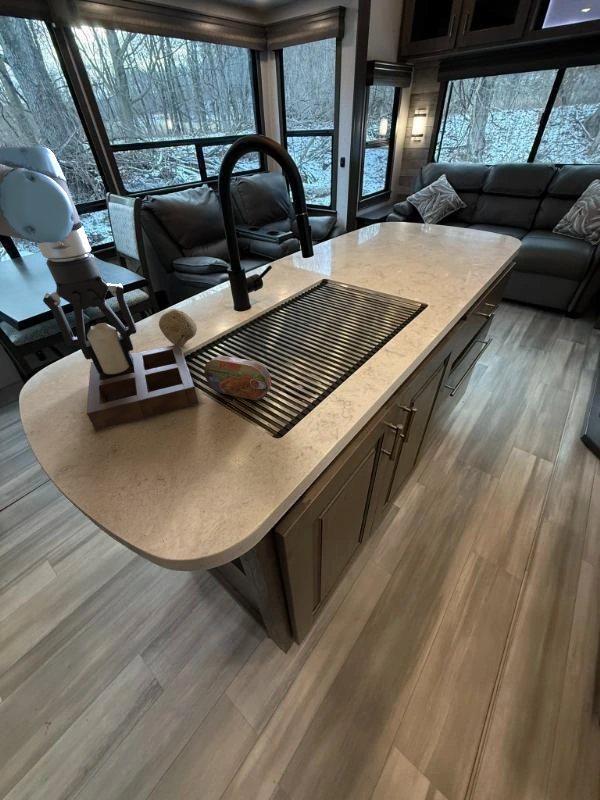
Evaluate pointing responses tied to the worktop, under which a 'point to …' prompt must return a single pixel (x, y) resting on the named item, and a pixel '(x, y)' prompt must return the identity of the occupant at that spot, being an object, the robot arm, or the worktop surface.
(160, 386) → the rack
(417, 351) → the worktop surface
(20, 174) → the robot arm
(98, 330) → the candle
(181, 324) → the natural sponge
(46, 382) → the worktop surface
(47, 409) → the worktop surface
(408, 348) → the worktop surface
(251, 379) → the tin
